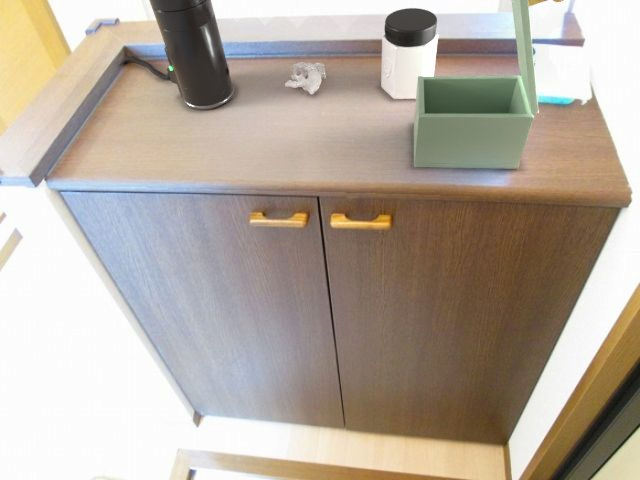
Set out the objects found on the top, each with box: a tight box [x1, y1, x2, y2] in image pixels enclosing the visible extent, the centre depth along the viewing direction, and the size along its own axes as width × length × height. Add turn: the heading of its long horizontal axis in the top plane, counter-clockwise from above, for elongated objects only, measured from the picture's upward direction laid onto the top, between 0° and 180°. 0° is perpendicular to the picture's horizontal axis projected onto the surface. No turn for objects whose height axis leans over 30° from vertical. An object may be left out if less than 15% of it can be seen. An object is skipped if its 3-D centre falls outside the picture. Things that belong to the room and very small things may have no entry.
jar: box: [380, 7, 439, 100], centre depth 77 cm, size 9×8×12 cm
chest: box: [413, 74, 535, 170], centre depth 67 cm, size 15×10×9 cm
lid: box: [511, 0, 564, 115], centre depth 56 cm, size 15×10×5 cm
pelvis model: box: [284, 61, 327, 96], centre depth 84 cm, size 8×4×7 cm
